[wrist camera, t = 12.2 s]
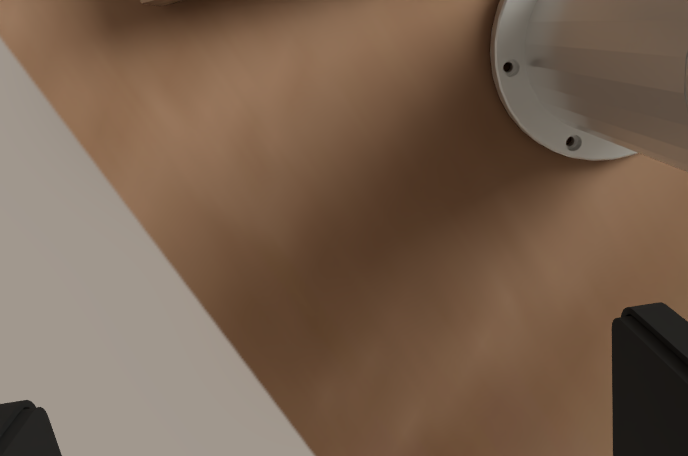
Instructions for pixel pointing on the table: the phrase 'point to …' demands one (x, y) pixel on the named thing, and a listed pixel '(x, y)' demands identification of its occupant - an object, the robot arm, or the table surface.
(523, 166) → the table surface
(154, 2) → the u-shaped wooden holder
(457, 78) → the table surface
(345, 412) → the table surface
